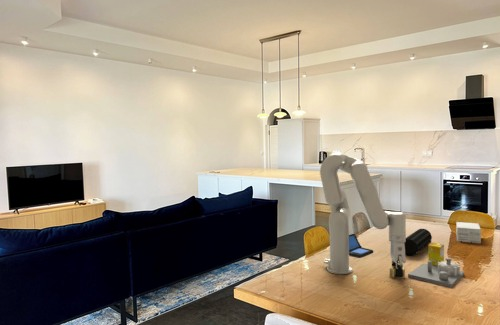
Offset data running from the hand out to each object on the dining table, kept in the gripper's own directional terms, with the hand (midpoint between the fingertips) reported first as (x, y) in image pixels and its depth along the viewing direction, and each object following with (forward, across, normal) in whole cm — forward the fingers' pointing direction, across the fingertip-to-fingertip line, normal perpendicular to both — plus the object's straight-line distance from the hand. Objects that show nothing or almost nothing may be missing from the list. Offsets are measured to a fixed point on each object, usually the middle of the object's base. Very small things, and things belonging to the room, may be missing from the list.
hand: (397, 273), depth 177 cm
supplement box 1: (+1, +18, -24) cm, 29 cm away
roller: (+2, +48, -23) cm, 54 cm away
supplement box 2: (+2, +72, -61) cm, 94 cm away
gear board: (+1, +2, -18) cm, 18 cm away
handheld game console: (+2, +37, +14) cm, 40 cm away
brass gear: (+1, 0, 0) cm, 1 cm away
